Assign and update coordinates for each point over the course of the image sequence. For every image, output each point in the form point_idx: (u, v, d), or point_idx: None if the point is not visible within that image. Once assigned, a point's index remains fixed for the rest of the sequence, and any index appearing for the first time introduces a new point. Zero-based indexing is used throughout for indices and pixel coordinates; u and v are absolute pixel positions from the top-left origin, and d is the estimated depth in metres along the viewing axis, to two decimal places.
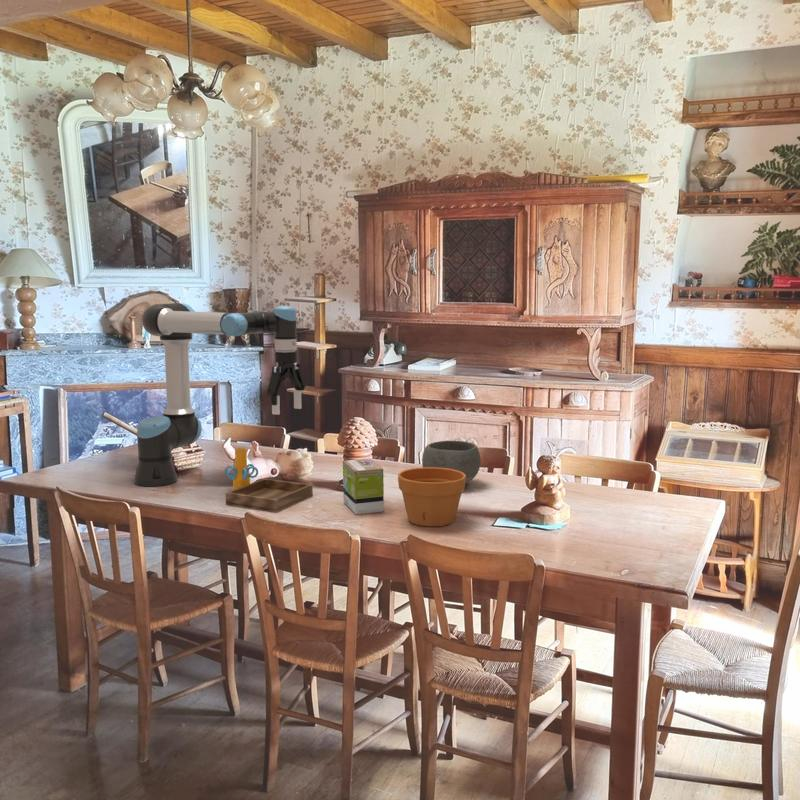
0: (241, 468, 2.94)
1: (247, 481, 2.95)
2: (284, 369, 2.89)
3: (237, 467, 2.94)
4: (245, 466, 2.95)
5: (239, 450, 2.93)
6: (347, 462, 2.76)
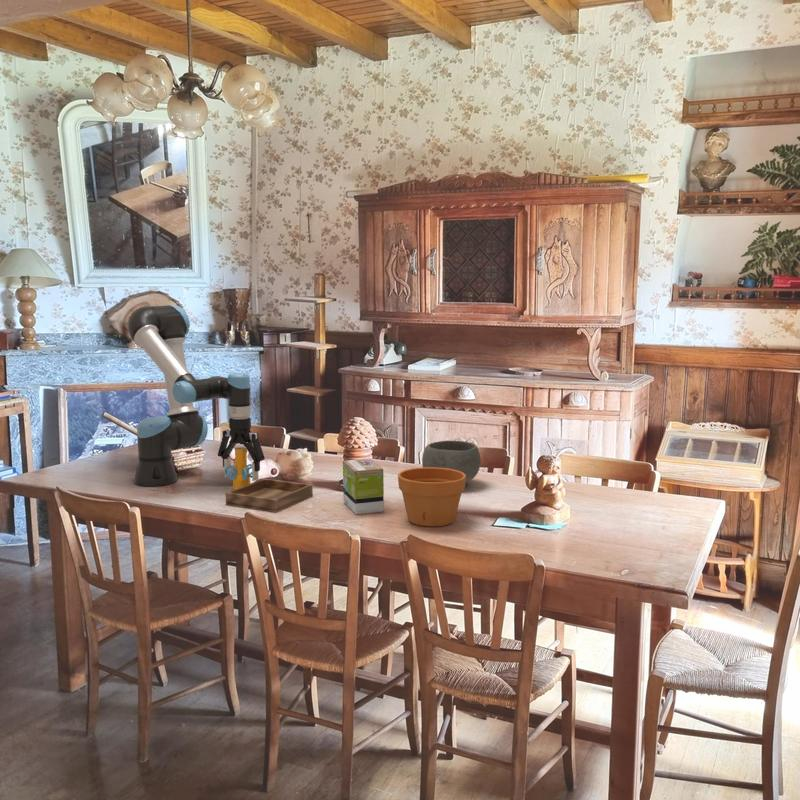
0: (241, 468, 2.94)
1: (247, 481, 2.95)
2: (232, 434, 2.94)
3: (237, 467, 2.94)
4: (245, 466, 2.94)
5: (239, 450, 2.93)
6: (347, 462, 2.75)
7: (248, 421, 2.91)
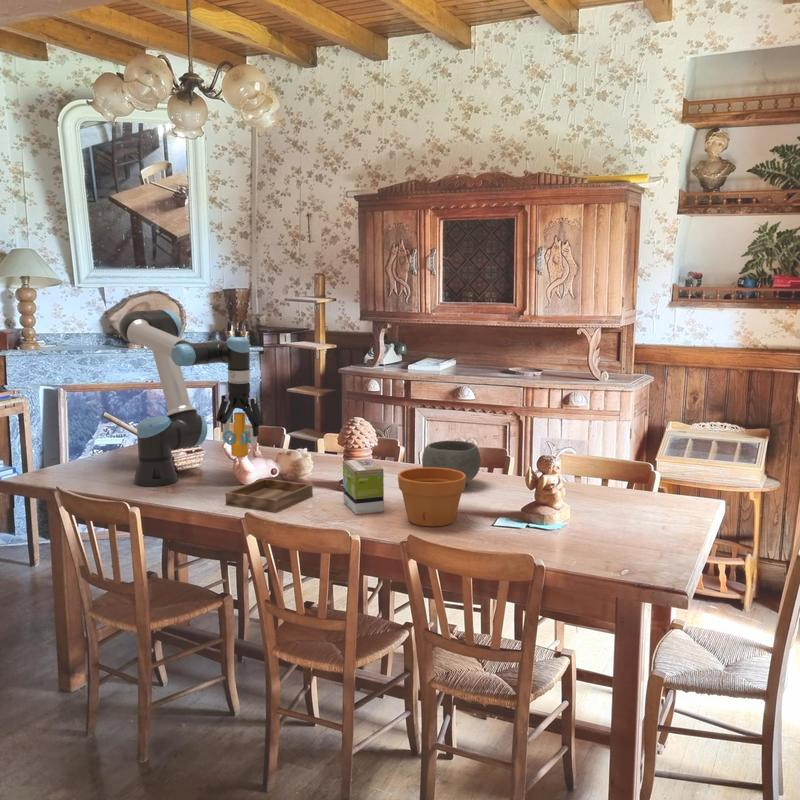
0: (239, 433, 2.92)
1: (245, 446, 2.93)
2: (231, 398, 2.92)
3: (235, 432, 2.92)
4: (244, 431, 2.93)
5: (238, 415, 2.91)
6: (347, 462, 2.75)
7: (247, 386, 2.89)
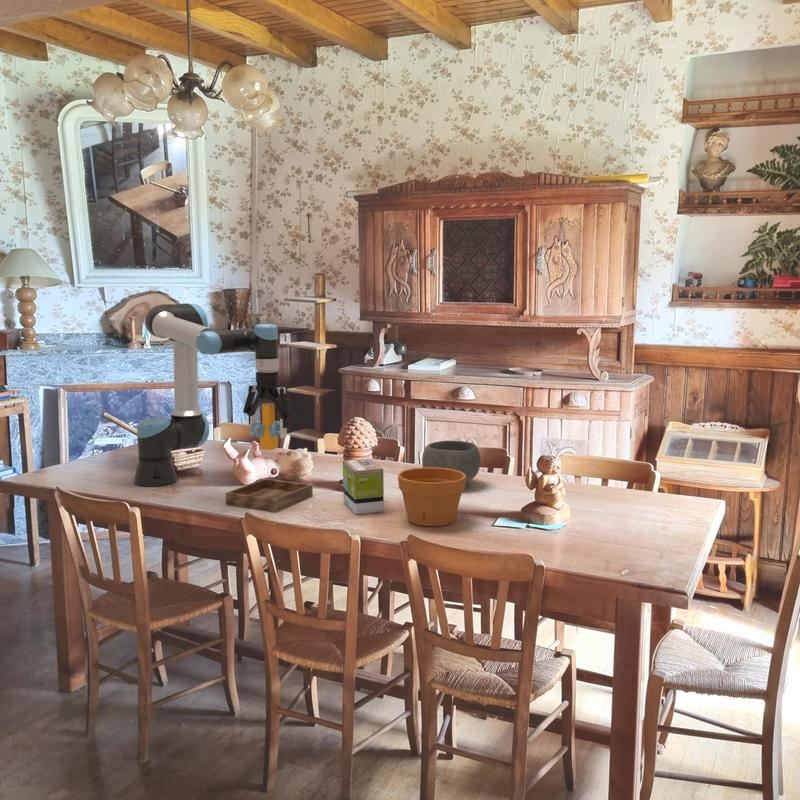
0: (268, 425, 2.77)
1: (275, 439, 2.78)
2: (258, 389, 2.78)
3: (264, 424, 2.78)
4: (272, 423, 2.78)
5: (266, 406, 2.76)
6: (347, 462, 2.76)
7: (276, 375, 2.75)
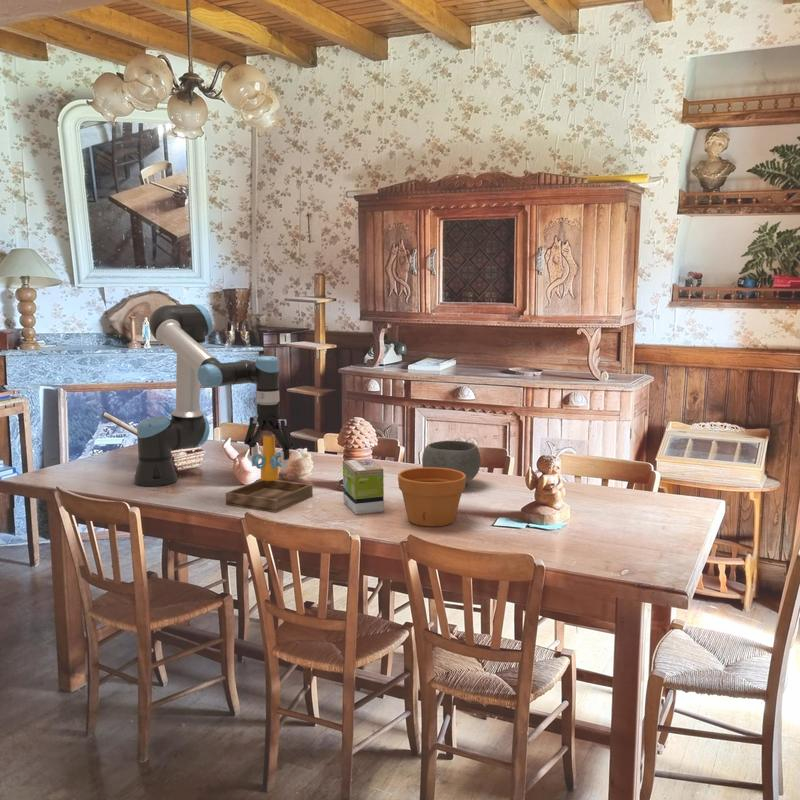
0: (269, 456, 2.79)
1: (276, 470, 2.80)
2: (259, 420, 2.79)
3: (265, 455, 2.79)
4: (273, 454, 2.80)
5: (267, 437, 2.78)
6: (347, 462, 2.75)
7: (277, 407, 2.77)
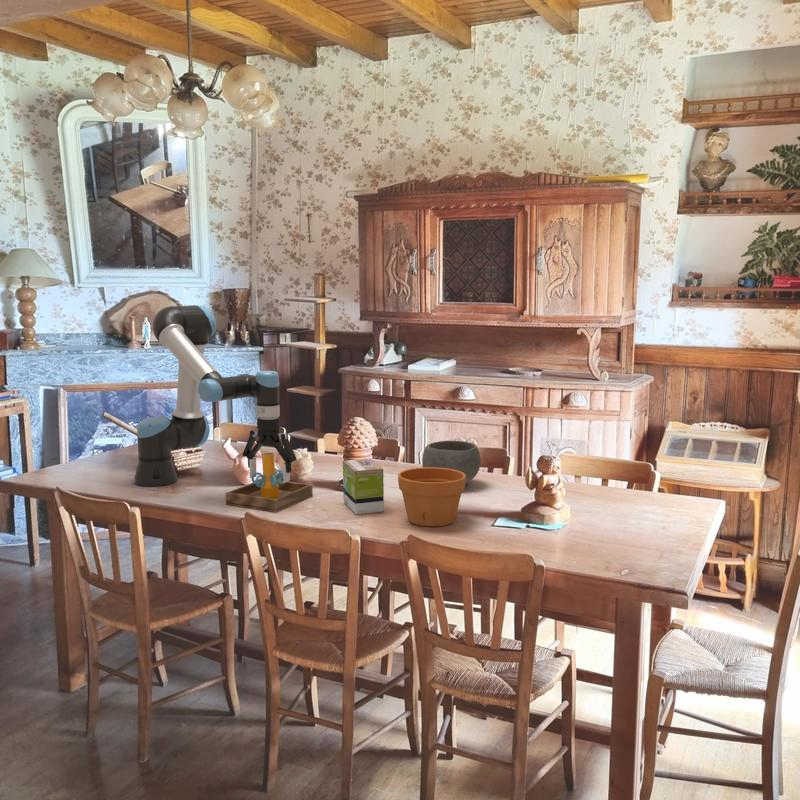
0: (269, 475, 2.80)
1: (276, 488, 2.81)
2: (260, 435, 2.80)
3: (265, 474, 2.80)
4: (273, 472, 2.81)
5: (266, 456, 2.79)
6: (347, 462, 2.75)
7: (277, 421, 2.77)
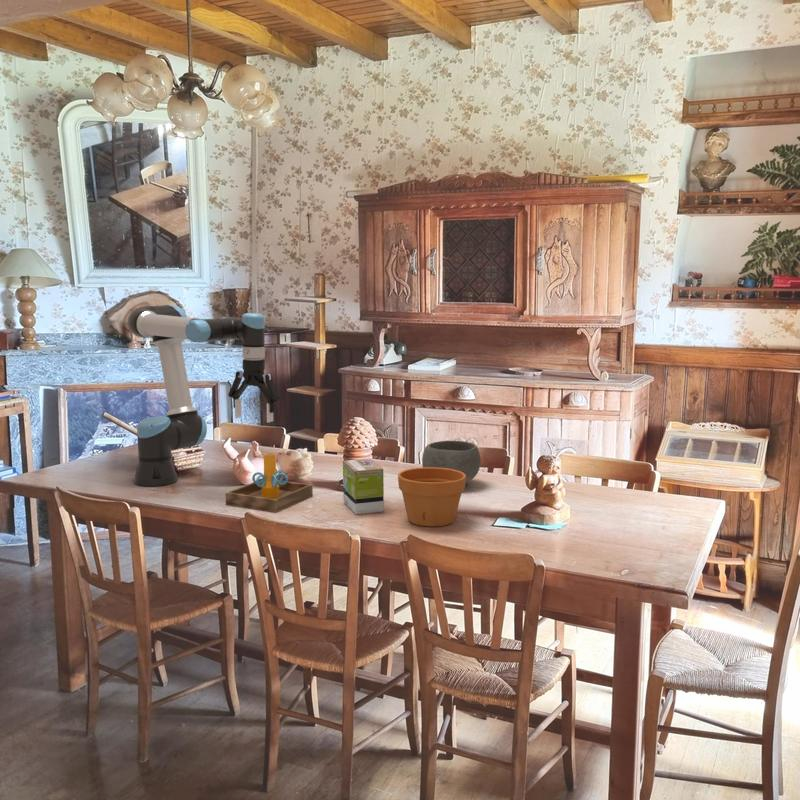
0: (270, 475, 2.80)
1: (276, 488, 2.81)
2: (245, 376, 2.88)
3: (266, 474, 2.80)
4: (274, 473, 2.81)
5: (268, 456, 2.79)
6: (347, 462, 2.75)
7: (262, 363, 2.85)
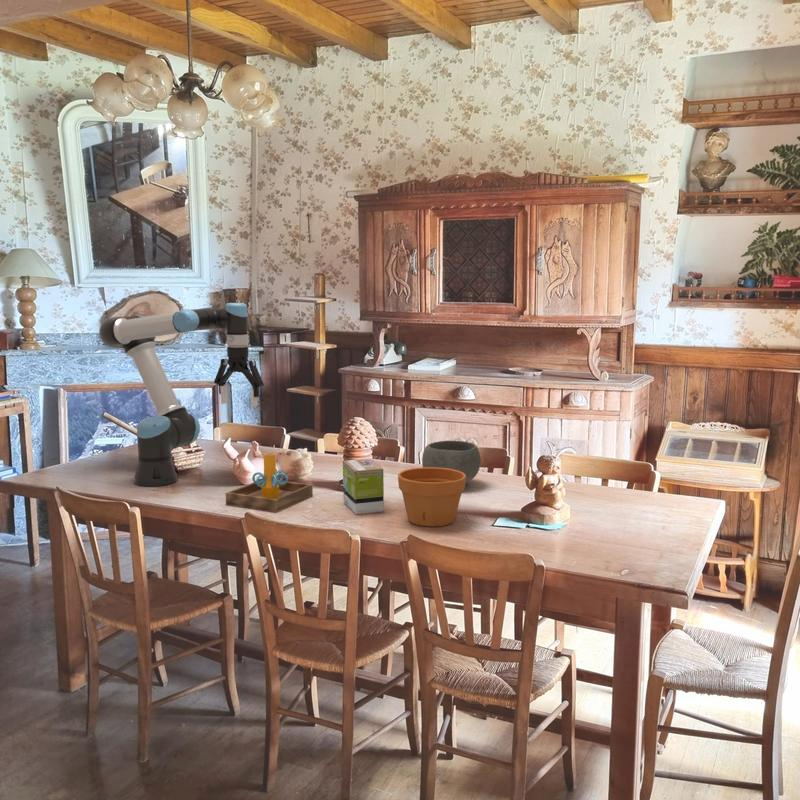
0: (270, 475, 2.80)
1: (276, 488, 2.81)
2: (230, 363, 3.01)
3: (266, 474, 2.80)
4: (274, 473, 2.81)
5: (268, 456, 2.79)
6: (347, 462, 2.76)
7: (246, 349, 2.99)
